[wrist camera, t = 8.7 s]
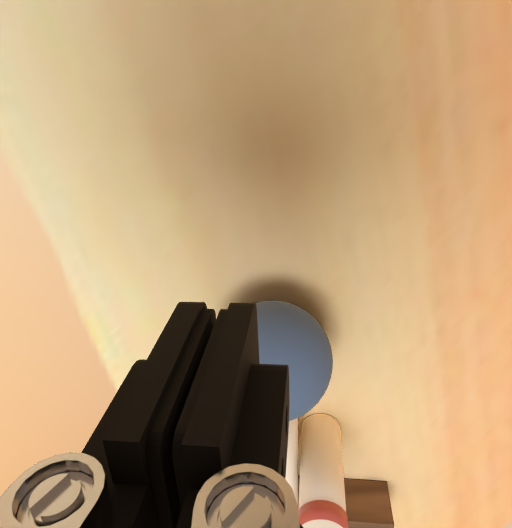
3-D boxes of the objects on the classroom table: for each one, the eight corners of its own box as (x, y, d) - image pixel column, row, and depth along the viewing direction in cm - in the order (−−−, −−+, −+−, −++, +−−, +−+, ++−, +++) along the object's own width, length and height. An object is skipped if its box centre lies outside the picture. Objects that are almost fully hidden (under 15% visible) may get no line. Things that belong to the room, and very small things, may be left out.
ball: (210, 447, 22) (228, 359, 27) (333, 452, 21) (329, 361, 26) (192, 357, 19) (216, 277, 24) (337, 360, 18) (331, 277, 23)
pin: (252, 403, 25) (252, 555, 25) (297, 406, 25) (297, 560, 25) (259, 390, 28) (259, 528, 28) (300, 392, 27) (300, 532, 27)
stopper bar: (240, 471, 30) (233, 512, 28) (386, 481, 29) (394, 524, 27) (241, 488, 31) (234, 529, 28) (384, 498, 30) (391, 542, 27)
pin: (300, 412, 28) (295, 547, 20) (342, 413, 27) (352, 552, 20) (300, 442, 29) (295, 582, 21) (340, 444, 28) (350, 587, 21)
